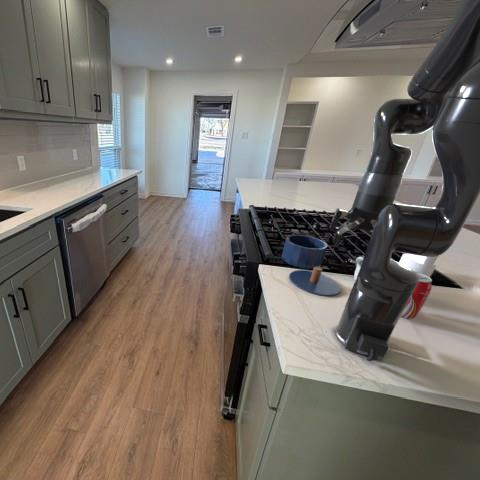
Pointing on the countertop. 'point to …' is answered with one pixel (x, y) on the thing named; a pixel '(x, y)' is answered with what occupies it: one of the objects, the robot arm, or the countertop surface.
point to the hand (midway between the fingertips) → (354, 249)
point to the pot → (304, 251)
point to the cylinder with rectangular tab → (419, 263)
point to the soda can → (418, 296)
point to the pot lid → (314, 282)
